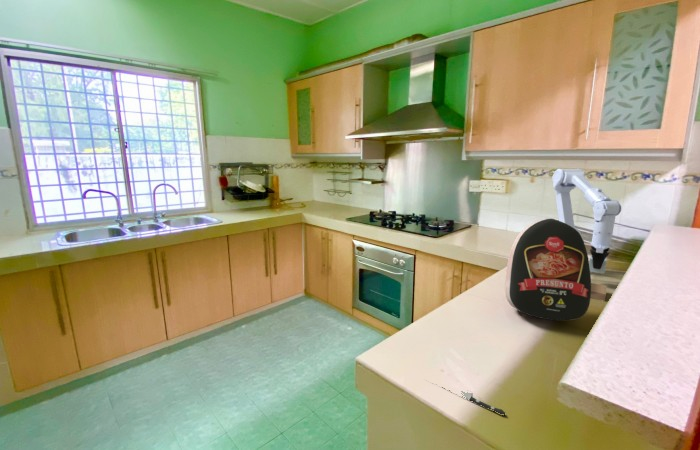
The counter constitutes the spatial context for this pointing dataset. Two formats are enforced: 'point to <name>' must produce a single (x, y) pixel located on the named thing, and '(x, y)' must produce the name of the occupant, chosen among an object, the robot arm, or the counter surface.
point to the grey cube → (597, 269)
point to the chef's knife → (469, 396)
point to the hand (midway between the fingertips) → (597, 266)
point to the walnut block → (598, 292)
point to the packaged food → (549, 272)
